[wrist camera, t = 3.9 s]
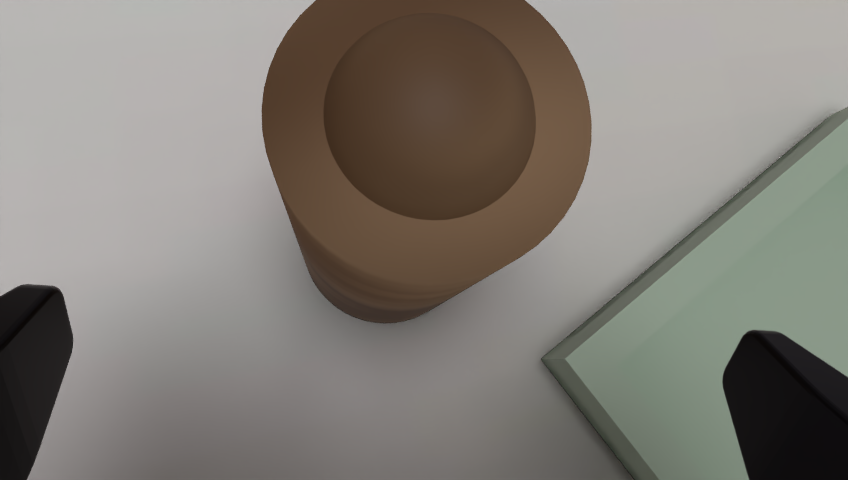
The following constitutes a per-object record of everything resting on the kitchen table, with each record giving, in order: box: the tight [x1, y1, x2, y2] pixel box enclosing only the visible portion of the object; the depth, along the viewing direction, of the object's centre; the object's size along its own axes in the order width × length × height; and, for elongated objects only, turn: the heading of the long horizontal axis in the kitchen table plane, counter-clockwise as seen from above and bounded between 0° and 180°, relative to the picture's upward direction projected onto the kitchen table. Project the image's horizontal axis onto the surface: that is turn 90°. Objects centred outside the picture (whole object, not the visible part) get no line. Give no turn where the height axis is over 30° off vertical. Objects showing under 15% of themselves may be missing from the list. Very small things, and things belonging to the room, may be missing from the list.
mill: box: [262, 0, 591, 323], centre depth 14 cm, size 5×5×11 cm
